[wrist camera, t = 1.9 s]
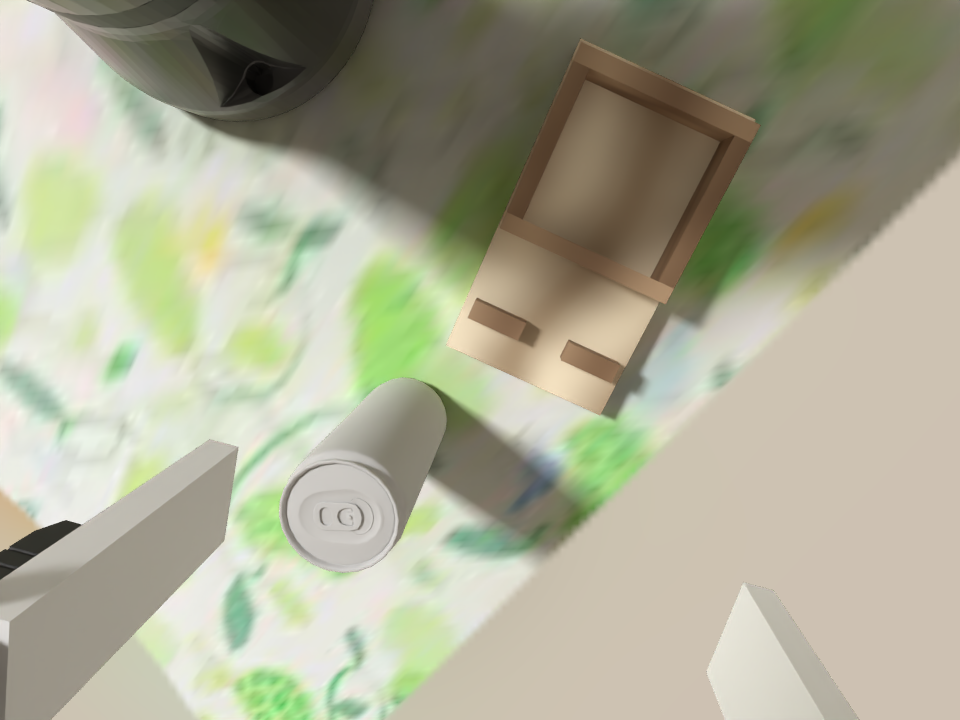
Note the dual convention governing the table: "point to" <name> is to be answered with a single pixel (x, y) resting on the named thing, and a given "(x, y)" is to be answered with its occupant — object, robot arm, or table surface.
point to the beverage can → (364, 478)
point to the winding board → (599, 225)
